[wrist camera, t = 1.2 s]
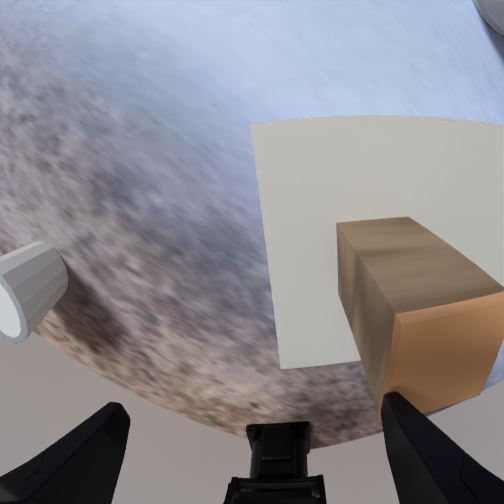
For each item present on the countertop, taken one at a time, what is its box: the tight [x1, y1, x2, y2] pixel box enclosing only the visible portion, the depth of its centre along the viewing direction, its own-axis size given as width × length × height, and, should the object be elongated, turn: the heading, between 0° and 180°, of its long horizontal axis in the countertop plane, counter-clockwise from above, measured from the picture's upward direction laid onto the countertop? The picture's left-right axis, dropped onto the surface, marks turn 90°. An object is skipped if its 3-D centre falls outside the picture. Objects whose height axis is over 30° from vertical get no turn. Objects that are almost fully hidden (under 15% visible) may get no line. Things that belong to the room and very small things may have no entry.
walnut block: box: [336, 216, 504, 424], centre depth 13 cm, size 5×5×11 cm
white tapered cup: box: [0, 241, 69, 344], centre depth 19 cm, size 7×7×7 cm
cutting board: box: [250, 116, 504, 369], centre depth 18 cm, size 18×24×1 cm
